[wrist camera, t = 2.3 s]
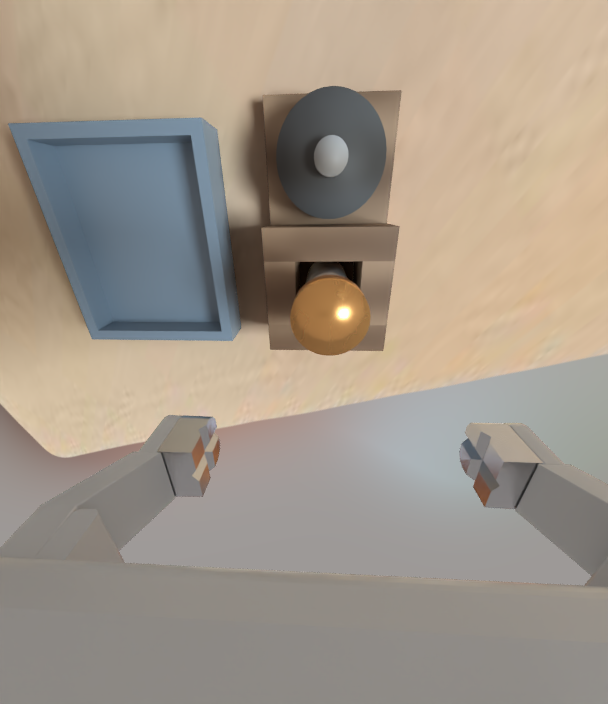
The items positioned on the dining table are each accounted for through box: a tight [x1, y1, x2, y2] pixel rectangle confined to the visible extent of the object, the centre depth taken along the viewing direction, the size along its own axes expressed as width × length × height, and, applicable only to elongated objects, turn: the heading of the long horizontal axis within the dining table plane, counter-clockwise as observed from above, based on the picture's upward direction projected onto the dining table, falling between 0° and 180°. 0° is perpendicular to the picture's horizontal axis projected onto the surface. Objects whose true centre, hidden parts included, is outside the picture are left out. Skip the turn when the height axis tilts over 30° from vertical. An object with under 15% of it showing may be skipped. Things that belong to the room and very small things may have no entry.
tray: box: [8, 118, 241, 341], centre depth 27 cm, size 18×15×4 cm
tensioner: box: [261, 86, 401, 351], centre depth 24 cm, size 19×10×6 cm, turn 1°
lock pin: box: [290, 261, 371, 355], centre depth 24 cm, size 5×5×12 cm
